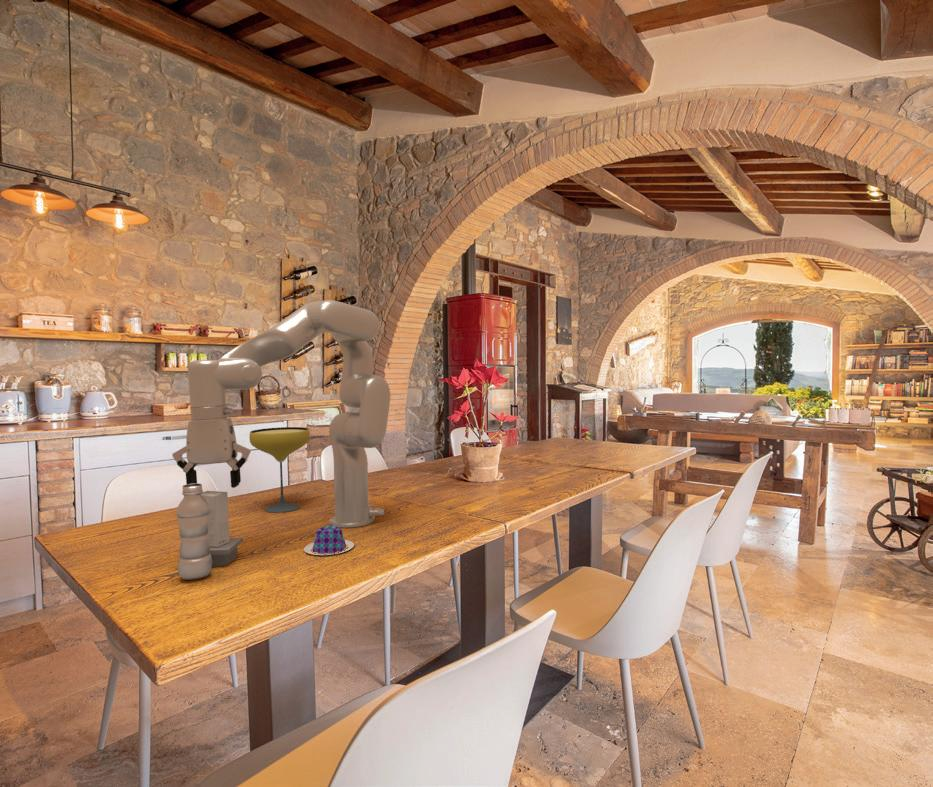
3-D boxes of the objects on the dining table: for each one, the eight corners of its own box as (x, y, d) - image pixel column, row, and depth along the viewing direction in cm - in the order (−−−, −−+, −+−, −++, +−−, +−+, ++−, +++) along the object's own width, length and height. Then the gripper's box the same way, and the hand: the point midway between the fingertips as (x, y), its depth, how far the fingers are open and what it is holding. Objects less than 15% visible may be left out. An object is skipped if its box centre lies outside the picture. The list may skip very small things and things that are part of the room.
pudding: (357, 541, 142) (356, 521, 142) (350, 557, 130) (349, 535, 130) (309, 542, 141) (309, 522, 141) (298, 559, 129) (298, 537, 129)
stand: (243, 553, 132) (242, 537, 132) (228, 567, 123) (228, 549, 123) (201, 555, 132) (200, 538, 132) (183, 568, 123) (182, 551, 123)
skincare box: (230, 542, 129) (228, 491, 128) (217, 548, 125) (214, 495, 124) (209, 540, 131) (207, 490, 130) (195, 545, 126) (193, 494, 126)
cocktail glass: (320, 509, 173) (317, 430, 172) (260, 519, 163) (257, 435, 161) (301, 498, 188) (299, 425, 186) (245, 507, 177) (243, 430, 176)
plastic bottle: (185, 572, 121) (182, 482, 120) (217, 571, 121) (214, 481, 120) (172, 584, 114) (168, 489, 113) (206, 582, 115) (202, 487, 114)
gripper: (252, 410, 130) (257, 481, 131) (178, 413, 129) (183, 485, 131) (241, 414, 123) (246, 489, 124) (162, 417, 122) (167, 493, 123)
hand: (214, 487), depth 127 cm, fingers open, 9 cm apart
